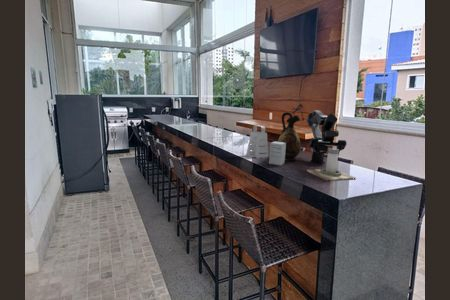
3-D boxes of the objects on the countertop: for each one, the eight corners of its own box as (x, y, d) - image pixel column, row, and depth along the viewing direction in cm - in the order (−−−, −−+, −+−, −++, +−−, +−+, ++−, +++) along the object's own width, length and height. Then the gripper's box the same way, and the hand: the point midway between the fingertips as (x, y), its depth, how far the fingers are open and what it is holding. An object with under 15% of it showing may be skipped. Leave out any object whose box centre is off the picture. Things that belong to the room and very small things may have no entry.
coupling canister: (327, 171, 146) (330, 147, 143) (337, 173, 142) (340, 149, 140) (323, 173, 142) (326, 148, 139) (333, 175, 138) (336, 150, 136)
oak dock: (333, 170, 152) (333, 166, 152) (355, 179, 137) (356, 175, 136) (306, 171, 148) (307, 167, 147) (326, 180, 132) (327, 176, 131)
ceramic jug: (302, 158, 180) (307, 112, 174) (295, 162, 167) (300, 113, 161) (277, 154, 188) (281, 111, 183) (269, 158, 175) (273, 111, 169)
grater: (257, 158, 175) (259, 126, 171) (246, 155, 183) (248, 125, 179) (268, 156, 182) (270, 126, 178) (257, 153, 189) (259, 124, 186)
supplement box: (273, 161, 167) (274, 141, 165) (284, 163, 164) (286, 142, 161) (268, 163, 161) (270, 142, 159) (280, 165, 157) (282, 144, 155)
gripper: (312, 123, 151) (313, 146, 143) (348, 125, 149) (351, 149, 140) (309, 135, 160) (309, 158, 152) (342, 138, 158) (345, 160, 149)
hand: (328, 156), depth 148 cm, fingers open, 9 cm apart
